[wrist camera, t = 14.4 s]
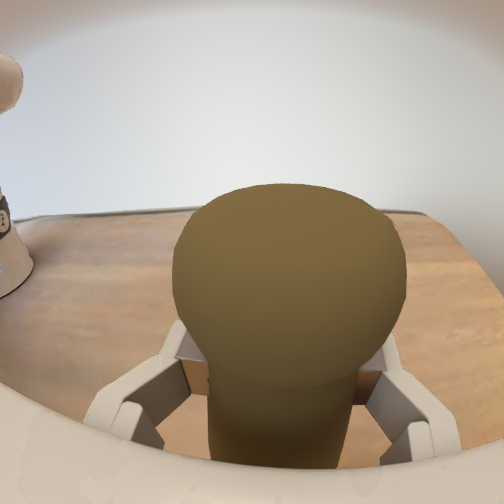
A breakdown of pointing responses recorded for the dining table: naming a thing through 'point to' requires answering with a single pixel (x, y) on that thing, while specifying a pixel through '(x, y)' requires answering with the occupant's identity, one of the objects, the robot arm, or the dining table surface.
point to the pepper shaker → (286, 316)
